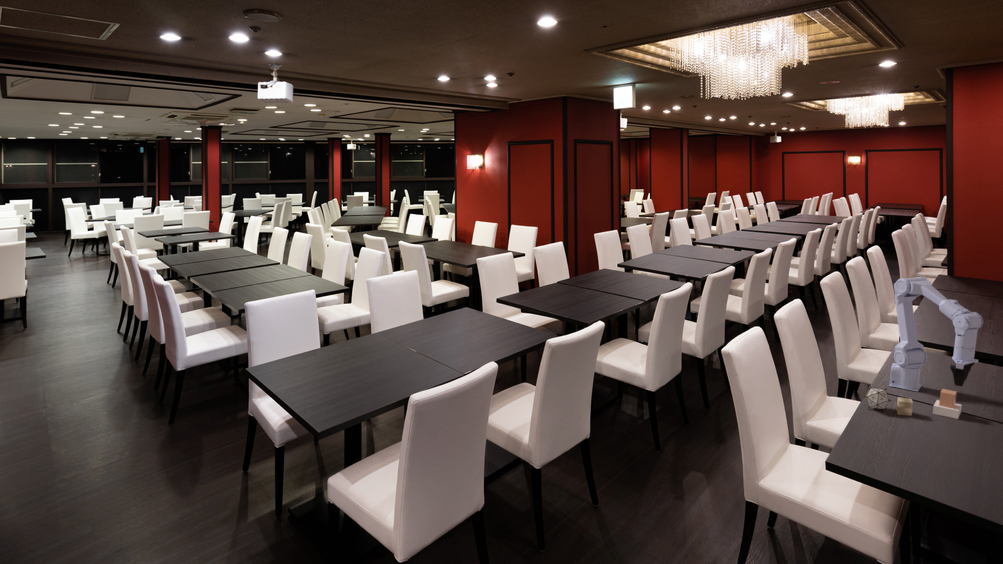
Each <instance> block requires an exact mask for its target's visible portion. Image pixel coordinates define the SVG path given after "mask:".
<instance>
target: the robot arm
mask: <svg viewBox="0 0 1003 564" xmlns="http://www.w3.org/2000/svg"><path fill="white" fill-rule="evenodd" d="M893 287H894V289H893V290H894V303H895V312H896V317H897V325H898V331H899V333H898V335H899V340H900V342H898V343H897V344H896V345H895V347H894V354H893V358H894V362H892V364H891V367H890V373H889V374H890V375H889V385H888V386H889V387H892V388H893V387H894V388H897V389H903V390H907V391H911V392H912V391H913V392H919V391H920V389H921V388H922V384H920V380H921V379H920V378H921V369H922V367H923V364H926V362H927V360H928V354H927V351H925V348H924V347H925V346H924V345H923V344H922V343H920V342H919V341H918V337H917V335H918V334H917V329H916V322H915V321H916V320H915V315H914V306H913V305H914V304H913V301H915V299H917V297H920V296H924V297H925V298H927V299H928V300H929V301H931V302H933V304H935V305H937V306H938V309H939V312H941V313H942V314H944V316H945V317H947V318H948V319H950V321H952V325H953V327H954V333H955V338H954V347H953V355H952V358H951V359H952V361H954V363H955V364H951V365H950V366H949V368H950V371H951V373H952V376H953V383H954V386H957V387H963V386H964V384H965V381H967V379H968V377H969V374H970V372H971V370H972V367H973V366H974V365H975V364H977V363H979V359H976V358H975V354H976V345H977V340H978V339H977V338H978V330H979V329H980V328H982V326H983V325H984V319H983V317H982V315H981V314H980V313H978V312H975V311H973V312H972V311H971V310H969V309H968V308H965V307H964V306H963V305H961V304H960V303H959V301H958V300H957V299H947V297H946V296H945V295H943V294H942V293H941V292H940V291H938V290H937V288H935V287H934V286H933V285H932V281H930V280H929V279H928V278H926V277H924V276H919V277H908V278H907V277H905V278H902V277H901V278H898V279H897V280H896V282H895V283H893Z"/></svg>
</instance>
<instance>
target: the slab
mask: <svg viewBox="0 0 1003 564" xmlns="http://www.w3.org/2000/svg"><path fill="white" fill-rule="evenodd" d="M939 402H940V399H936V401H935V403H934V404H933V406H932V407H933V409H932V414H933V415H938V416H942V417H946V418H951V419H956V420H959V417H960V415H961V414H962V407H963V406H962V404H960V403H956V402H955V406H954V408H949V407H945V406H940V405H939Z"/></svg>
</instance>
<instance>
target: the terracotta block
mask: <svg viewBox="0 0 1003 564" xmlns="http://www.w3.org/2000/svg"><path fill="white" fill-rule="evenodd" d="M957 392H958V391H957V390H950V389H945V388H942V389H941V391H940V393H939V400H940V402H939V405H940V406H945V407H949V408H954V406H955V403H956V402H957V401H956V400H957Z"/></svg>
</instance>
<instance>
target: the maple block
mask: <svg viewBox="0 0 1003 564" xmlns="http://www.w3.org/2000/svg"><path fill="white" fill-rule="evenodd" d="M913 404H914V403H913V399H912V398H906V397H900V396H898V397H897V402H896V413H897V415H902V416H909V417H912V415H913V406H914V405H913Z"/></svg>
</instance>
